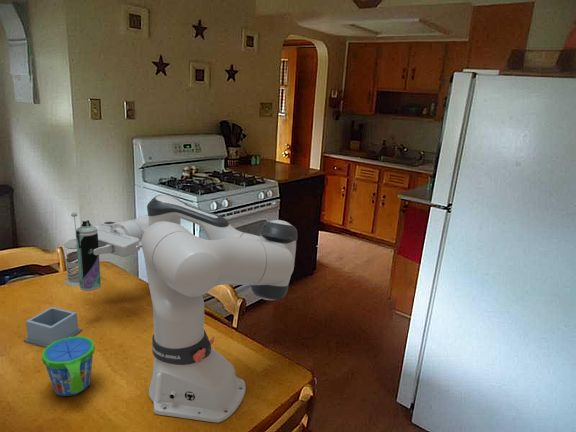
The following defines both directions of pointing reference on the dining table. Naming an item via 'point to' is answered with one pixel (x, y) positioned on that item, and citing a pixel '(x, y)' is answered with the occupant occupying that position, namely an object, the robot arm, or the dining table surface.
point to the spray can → (88, 257)
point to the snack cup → (69, 364)
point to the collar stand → (51, 327)
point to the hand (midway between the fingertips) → (85, 249)
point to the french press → (72, 277)
